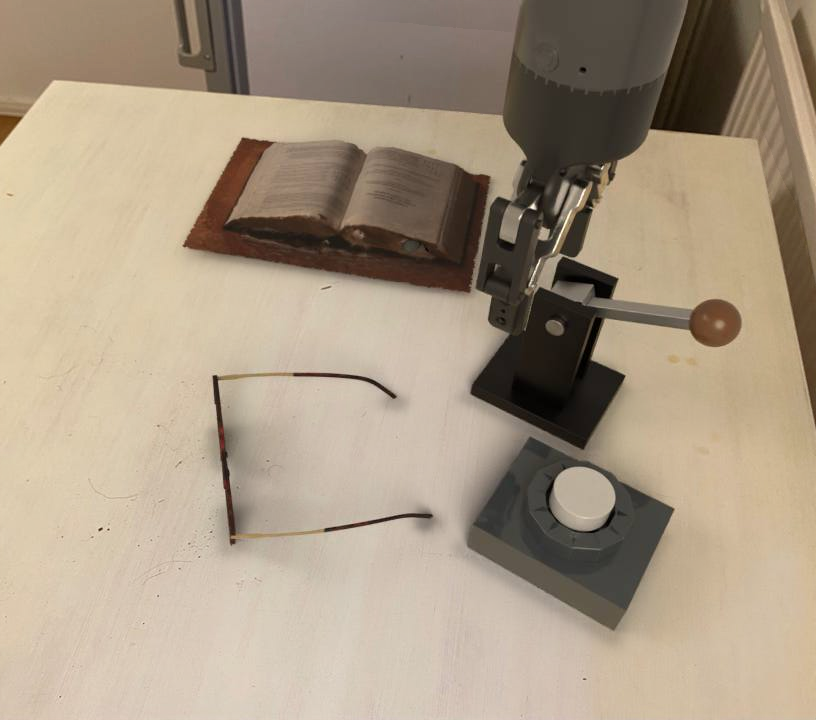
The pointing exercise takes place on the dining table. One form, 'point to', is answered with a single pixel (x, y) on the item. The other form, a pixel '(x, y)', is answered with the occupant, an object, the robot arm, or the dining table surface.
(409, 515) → the sunglasses
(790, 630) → the dining table surface
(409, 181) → the book
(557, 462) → the button housing
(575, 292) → the flush lever
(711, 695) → the dining table surface
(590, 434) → the lever bracket
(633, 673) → the dining table surface
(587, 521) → the white push button
